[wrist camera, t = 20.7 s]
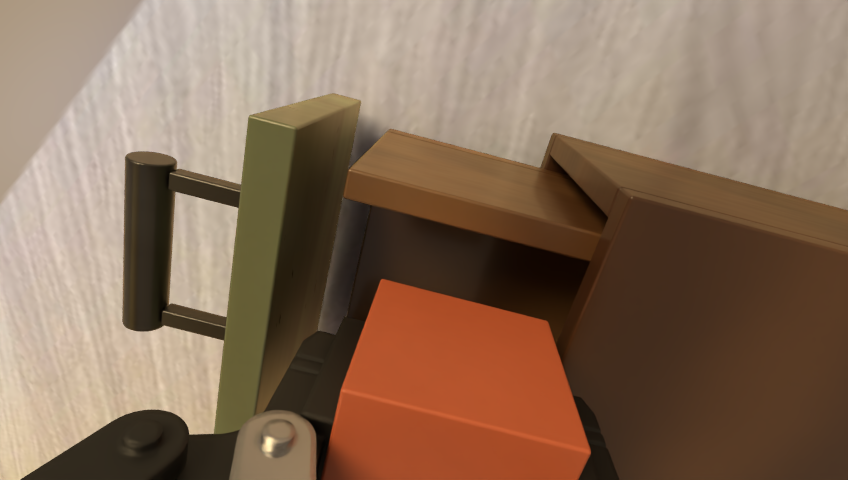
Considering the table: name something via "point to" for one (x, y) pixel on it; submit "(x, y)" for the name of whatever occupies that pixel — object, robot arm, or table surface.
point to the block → (453, 396)
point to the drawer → (382, 244)
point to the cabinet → (708, 323)
